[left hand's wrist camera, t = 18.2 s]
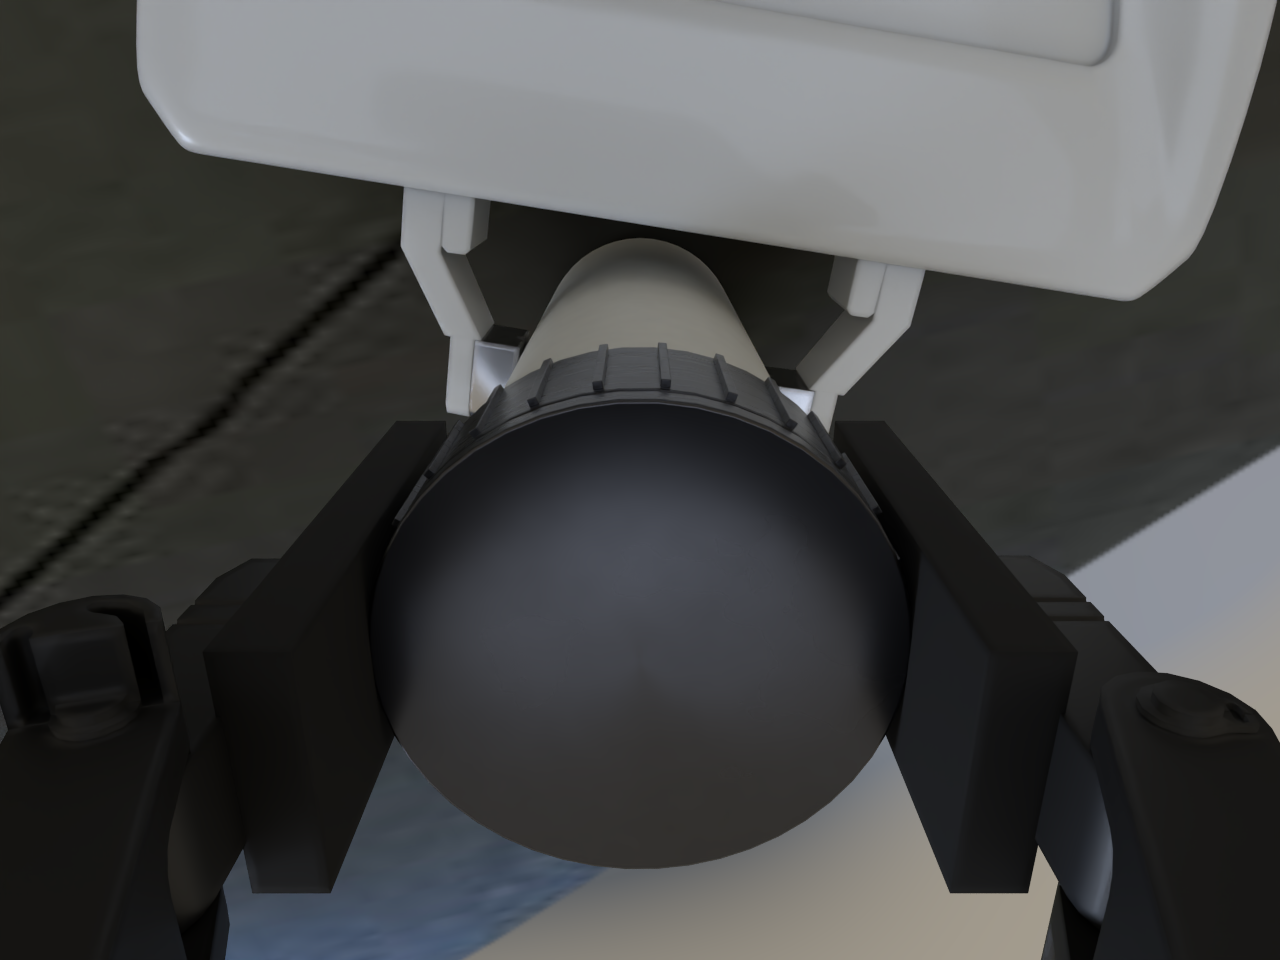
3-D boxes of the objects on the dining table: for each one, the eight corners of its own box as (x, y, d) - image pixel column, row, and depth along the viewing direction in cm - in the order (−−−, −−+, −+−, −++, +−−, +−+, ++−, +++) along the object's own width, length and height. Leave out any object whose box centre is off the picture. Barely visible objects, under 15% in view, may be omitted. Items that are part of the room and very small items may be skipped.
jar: (605, 200, 25) (546, 316, 9) (769, 300, 26) (964, 556, 10) (514, 366, 26) (336, 698, 11) (671, 453, 27) (712, 871, 12)
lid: (480, 781, 13) (448, 909, 11) (350, 392, 11) (278, 457, 9) (889, 712, 13) (940, 831, 11) (838, 293, 11) (889, 335, 9)
